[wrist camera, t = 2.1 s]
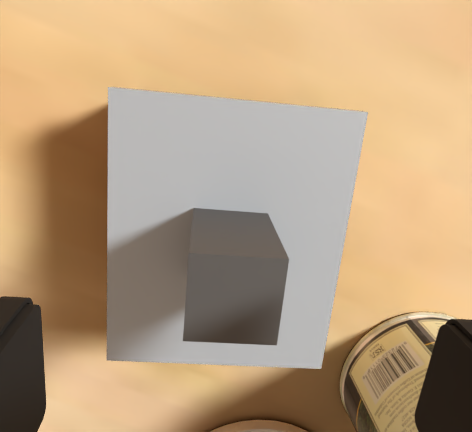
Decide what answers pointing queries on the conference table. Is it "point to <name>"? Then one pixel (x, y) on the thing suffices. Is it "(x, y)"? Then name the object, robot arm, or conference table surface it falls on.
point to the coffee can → (389, 372)
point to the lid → (225, 227)
